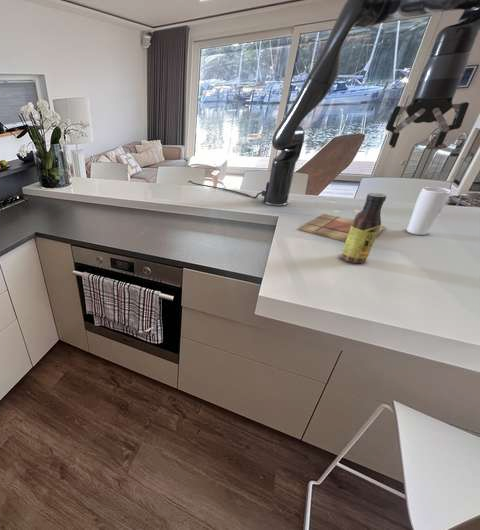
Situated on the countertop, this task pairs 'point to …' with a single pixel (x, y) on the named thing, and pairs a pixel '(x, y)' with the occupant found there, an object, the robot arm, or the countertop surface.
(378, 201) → the sauce bottle
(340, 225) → the board
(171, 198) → the countertop surface
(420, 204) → the drinking glass
